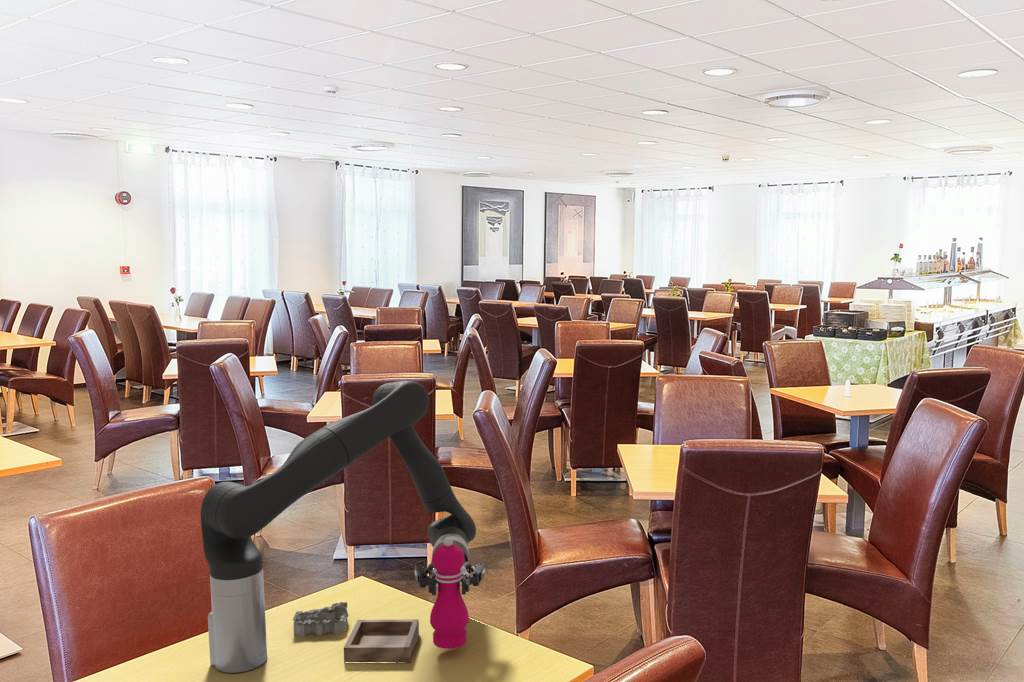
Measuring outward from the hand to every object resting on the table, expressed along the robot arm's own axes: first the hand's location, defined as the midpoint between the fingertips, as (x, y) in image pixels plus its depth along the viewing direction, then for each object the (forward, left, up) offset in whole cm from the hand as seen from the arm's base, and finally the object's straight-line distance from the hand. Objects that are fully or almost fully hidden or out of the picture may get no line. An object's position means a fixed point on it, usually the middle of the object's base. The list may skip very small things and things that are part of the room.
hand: (448, 589), depth 154 cm
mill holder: (-14, 0, -13) cm, 19 cm away
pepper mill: (-1, +2, -11) cm, 12 cm away
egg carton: (-31, +3, -14) cm, 34 cm away
